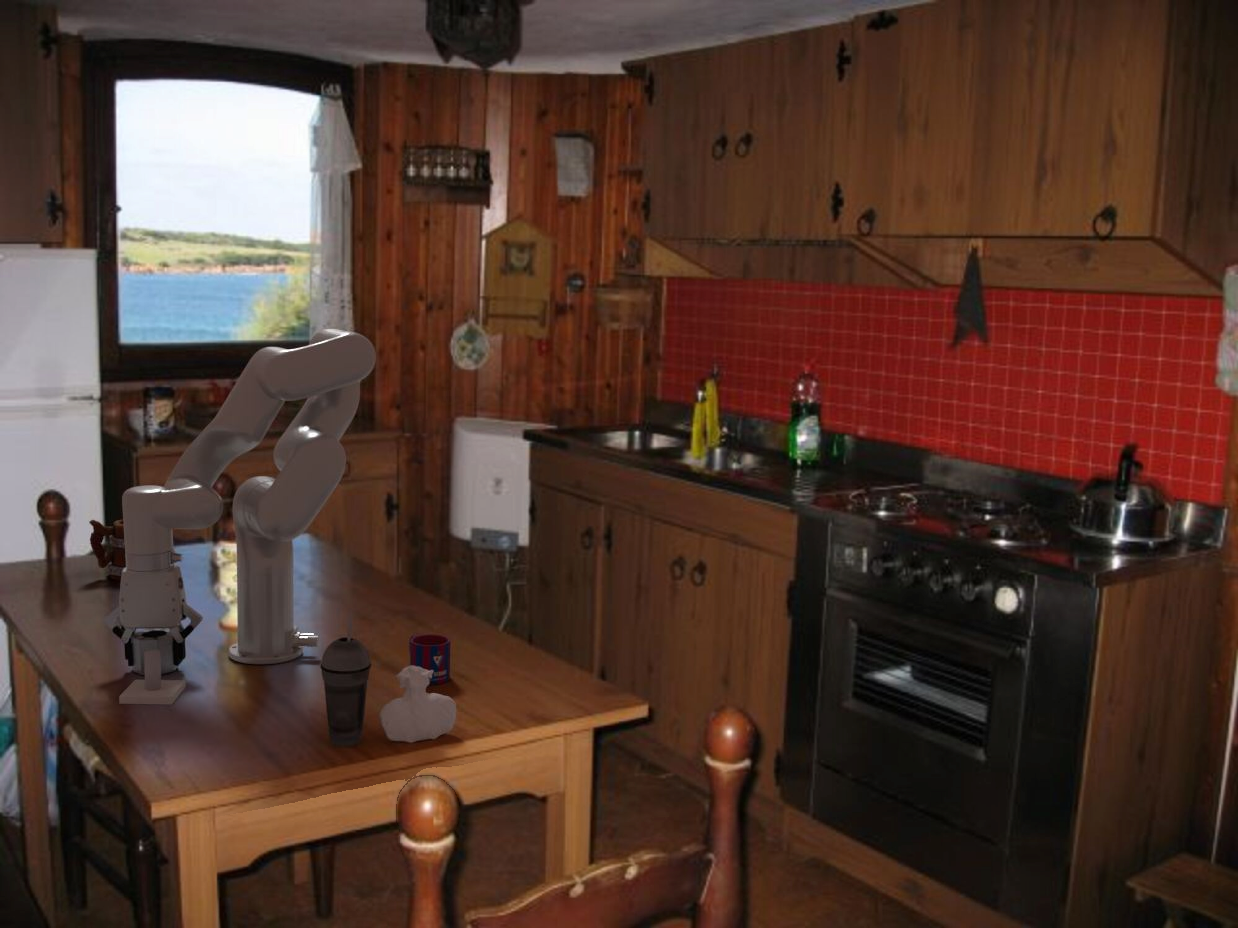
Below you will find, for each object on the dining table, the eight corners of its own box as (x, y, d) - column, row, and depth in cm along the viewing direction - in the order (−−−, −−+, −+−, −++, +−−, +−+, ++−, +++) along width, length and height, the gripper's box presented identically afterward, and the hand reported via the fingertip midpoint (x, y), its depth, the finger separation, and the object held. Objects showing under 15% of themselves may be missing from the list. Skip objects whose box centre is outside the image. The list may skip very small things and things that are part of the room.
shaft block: (185, 687, 209) (185, 644, 208) (171, 704, 201) (170, 660, 200) (135, 686, 208) (134, 643, 207) (119, 703, 200) (118, 659, 199)
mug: (175, 577, 276) (161, 510, 272) (106, 595, 268) (91, 527, 265) (162, 565, 285) (148, 500, 281) (95, 582, 278) (80, 516, 274)
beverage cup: (349, 727, 194) (349, 599, 191) (381, 740, 189) (382, 609, 186) (309, 740, 188) (309, 608, 185) (341, 754, 184) (342, 618, 181)
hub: (182, 661, 220) (180, 627, 219) (170, 674, 214) (169, 640, 212) (141, 661, 220) (139, 627, 219) (129, 675, 213) (127, 640, 212)
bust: (453, 742, 196) (437, 672, 200) (469, 726, 190) (452, 654, 194) (377, 754, 190) (362, 682, 194) (391, 738, 184) (376, 664, 189)
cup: (418, 687, 213) (419, 647, 212) (397, 669, 222) (397, 631, 220) (456, 681, 216) (456, 642, 215) (433, 664, 225) (433, 627, 224)
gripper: (209, 554, 218) (214, 655, 221) (104, 555, 217) (110, 656, 220) (197, 566, 210) (202, 670, 213) (88, 566, 209) (95, 671, 212)
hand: (155, 662), depth 217 cm, fingers closed on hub, 6 cm apart
